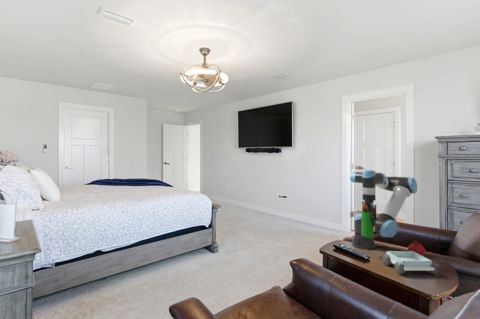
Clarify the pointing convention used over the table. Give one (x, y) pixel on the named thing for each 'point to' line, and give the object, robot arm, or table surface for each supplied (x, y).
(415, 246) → the pomegranate
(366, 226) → the motor
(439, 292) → the table surface
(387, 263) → the chassis
